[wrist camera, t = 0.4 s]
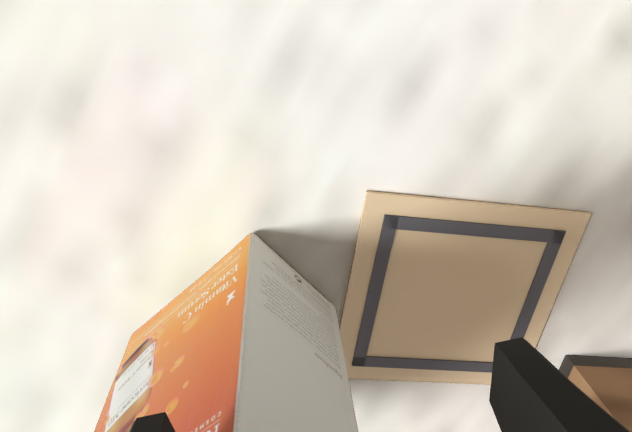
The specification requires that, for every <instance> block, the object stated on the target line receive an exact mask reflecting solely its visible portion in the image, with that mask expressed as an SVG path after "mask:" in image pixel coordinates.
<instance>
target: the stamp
mask: <svg viewBox="0 0 632 432" xmlns="http://www.w3.org/2000/svg"><path fill="white" fill-rule="evenodd" d="M559 371H560V372H561V373H562V374H563V375H565V376H566V377H567V378H568V379H569V380H570V381H571V382H572V383H574V384H575V385H576V386H577V387H578V388H579V389H580V390H581V391H583V392H584V393H585V394H586V395H587V396H588V397H589V398H591V399H592V400H593V401H594V402H595V403H596V404H598V405H599V406H600V407H601V408H602V409H604V410H605V411H606V412H607V413H608V414H610V415H611V416H612V417H613V418H614V419H616V420H617V421H618V422H619V423H620V424H622V425H623V426H624V427H625V428H626V429H628V430H629V431H630V432H632V358H617V357H598V356H579V355H565V357H564V360H563V362H562V364H561V366H560V368H559Z"/></svg>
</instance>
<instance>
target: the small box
mask: <svg viewBox="0 0 632 432" xmlns="http://www.w3.org/2000/svg"><path fill="white" fill-rule="evenodd" d="M163 412H166V414H167V416H168V418H169V420H170V422H171V424H172V426H173V428H174V430H175V432H358V427H357V422H356V417H355V411H354V405H353V400H352V396H351V389H350V385H349V379H348V373H347V368H346V362H345V356H344V351H343V346H342V340H341V334H340V329H339V323H338V317H337V312H336V308H335V306H334V305H333V304H331V303H330V302H329V301H328V300H327V299H326V298H325V297H324V296H322V295H321V294H320V293H319V292H318V291H317V290H316V289H315V288H314V287H313V286H311V285H310V284H309V283H308V282H307V281H306V280H305V279H304V278H303V277H301V276H300V275H299V274H298V273H297V272H296V271H295V270H294V269H293V268H292V267H290V266H289V265H288V264H287V263H286V262H285V261H284V260H283V259H282V258H280V257H279V256H278V255H277V254H276V253H275V252H274V251H273V250H272V249H271V248H269V247H268V246H267V245H266V244H265V243H264V242H263V241H262V240H261V239H259V238H258V237H257V236H256V235H255V234H254V233H250V234H249V235H247V236H246V237H245V238H244V239H243V240H242V241H241V242H240V243H239V244H237V245H236V246H235V247H234V248H233V249H232V250H231V251H230V252H229V253H228V254H227V255H226V256H224V257H223V258H222V259H221V260H220V261H219V262H218V263H216V264H215V265H214V266H213V267H212V268H211V269H209V270H208V271H207V272H206V273H205V274H204V275H202V276H201V277H200V278H199V279H198V280H196V281H195V282H194V283H193V284H192V285H190V286H189V287H188V288H187V289H186V290H184V291H183V292H182V293H181V294H179V295H178V296H177V297H176V298H175V299H173V300H172V301H171V302H170V303H169V304H167V305H166V306H165V307H164V308H163V309H162V310H160V311H159V312H158V313H157V314H156V315H154V316H153V317H152V318H151V319H150V320H148V321H147V322H146V323H145V324H143V325H142V326H141V327H140V328H139V329H138V330H136V331H135V332H134V333H133V334H132V336H131V337H130V340H129V342H128V345H127V348H126V351H125V353H124V356H123V359H122V361H121V364H120V366H119V369H118V371H117V374H116V376H115V379H114V381H113V384H112V386H111V389H110V391H109V394H108V397H107V399H106V402H105V404H104V407H103V410H102V412H101V415H100V418H99V420H98V423H97V425H96V428H95V431H94V432H129V431H130V429H131V426H132V424H133V422H134V421H135V420H136V418H139V417H144V416H148V415H153V414H158V413H163Z"/></svg>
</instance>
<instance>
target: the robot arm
mask: <svg viewBox="0 0 632 432" xmlns="http://www.w3.org/2000/svg"><path fill="white" fill-rule="evenodd" d="M489 401H490V403H491V406H492V408H493V411H494V414H495V416H496V419H497V421H498V424H499V426H500V429H501V431H502V432H630V431H629V430H628V429H626V428H625V427H624V426H623V425H622V424H620V423H619V422H618V421H617V420H616V419H614V418H613V417H612V416H611V415H610V414H608V413H607V412H606V411H605V410H604V409H602V408H601V407H600V406H599V405H598V404H596V403H595V402H594V401H593V400H592V399H591V398H589V397H588V396H587V395H586V394H585V393H584V392H583V391H581V390H580V389H579V388H578V387H577V386H576V385H575V384H574V383H572V382H571V381H570V380H569V379H568V378H567V377H566V376H565V375H563V374H562V373H561V372H560V371H559V370H558V369H557V368H556V367H555V366H554V365H552V364H551V363H550V362H549V361H548V360H547V359H546V358H545V357H544V356H543V355H542V354H541V353H540V352H538V351H537V350H536V349H535V348H534V347H533V346H532V345H531V344H530V343H529V342H528V341H527V340H525V339H524V338H522V337H521V338H516V339H511V340H506V341H502V342H497V343H495V345H494V356H493V367H492V378H491V389H490V400H489ZM129 432H175V430H174V428H173V426H172V424H171V422H170V420H169V418H168V416H167V414H166V412H163V413H158V414H153V415H148V416H144V417H139V418H136V420H135V421H134V422H133V424H132V426H131V429H130V431H129Z"/></svg>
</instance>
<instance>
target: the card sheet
mask: <svg viewBox="0 0 632 432" xmlns="http://www.w3.org/2000/svg"><path fill="white" fill-rule="evenodd" d="M590 216H591V214H590V213H589V212H582V211H572V210H562V209H551V208H541V207H530V206H520V205H510V204H499V203H489V202H478V201H468V200H458V199H447V198H437V197H426V196H416V195H405V194H395V193H385V192H374V191H367V192H366V197H365V202H364V207H363V212H362V217H361V222H360V227H359V232H358V237H357V242H356V248H355V253H354V258H353V263H352V268H351V273H350V278H349V283H348V288H347V293H346V298H345V303H344V308H343V314H342V319H341V324H340V334H341V340H342V346H343V351H344V356H345V362H346V368H347V373H348V379H371V380H394V381H417V382H440V383H463V384H486V385H491V378H492V367H493V356H494V345H495V343H497V342H502V341H506V340H511V339H516V338H521V337H522V338H524V339H525V340H527V341H528V342H529V343H530V344H531V345H532V346H533V347H534V348H536V345H537V343H538V340H539V338H540V336H541V333H542V331H543V328H544V326H545V324H546V321H547V319H548V317H549V314H550V312H551V309H552V307H553V305H554V302H555V300H556V297H557V295H558V293H559V290H560V288H561V285H562V283H563V281H564V278H565V276H566V273H567V271H568V269H569V266H570V264H571V261H572V259H573V257H574V254H575V252H576V249H577V247H578V245H579V242H580V240H581V237H582V235H583V233H584V230H585V228H586V226H587V223H588V221H589V218H590Z"/></svg>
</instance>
